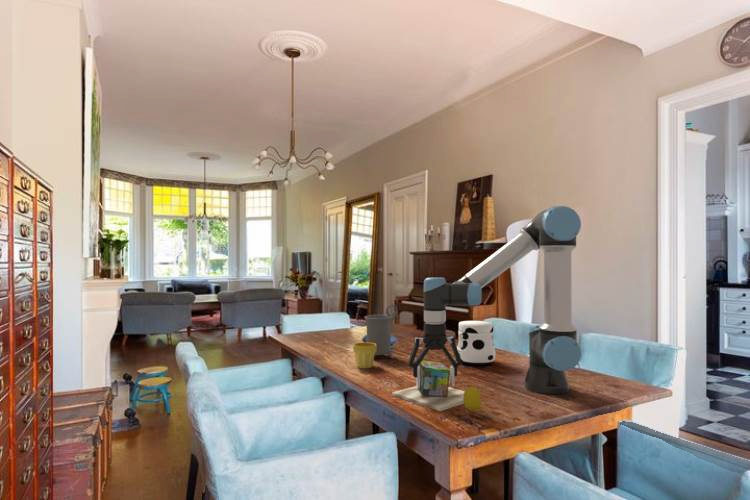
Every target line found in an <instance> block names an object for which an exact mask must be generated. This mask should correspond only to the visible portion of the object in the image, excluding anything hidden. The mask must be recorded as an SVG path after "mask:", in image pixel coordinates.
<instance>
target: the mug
mask: <svg viewBox="0 0 750 500" xmlns="http://www.w3.org/2000/svg"><path fill="white" fill-rule="evenodd" d="M391 307H393V308H394V311H395V312H394V311H392V313H391V314H389V308H391ZM385 313H386V314H369V315H365V316H364V320H365V322H366V342H369V343H375V344H376V345H377V350H376V353H375V355H374V356H381V355H382V356H383V355H386V356H389V358H391V359H392V360H394V356H393V353H392V352H391V346H392V345H391V342H392V341H391V338H392V337H391V333H392V332H391V330H392V329H391V328H392V324H393V322H394V320H395V318H396V317H397V314H398V307H397V305H396V304H389V305H387V307H386V308H385Z"/></svg>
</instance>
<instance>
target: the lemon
mask: <svg viewBox="0 0 750 500" xmlns="http://www.w3.org/2000/svg"><path fill="white" fill-rule="evenodd" d="M464 391H465V392H464V396H463V401H464V404H463V405H464V406H465V408H466V409H467V410H469V411H470V412H471V413H475V411H478V409H480V407H481V406H482V399H483V398H482V393H481V392H480V390H479V389H478V388H476V387H474V386H473V385H471V386H470V387H467V388H466V389H465V390H464Z"/></svg>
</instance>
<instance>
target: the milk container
mask: <svg viewBox="0 0 750 500" xmlns="http://www.w3.org/2000/svg"><path fill="white" fill-rule="evenodd" d="M457 333H458V342H457V345H456V347H457V350H458V352H459V355H460V358H461V360H462V363H464V364H466V365H474V366H476V365H477V366H480V365H481V366H482V365H483V366H484V365H489V364H493V363H494V361H495V360H496V354H497V353H496V347H495V344H494V324H493V322H490V321H485V320H463V321H459V322H458V331H457Z"/></svg>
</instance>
